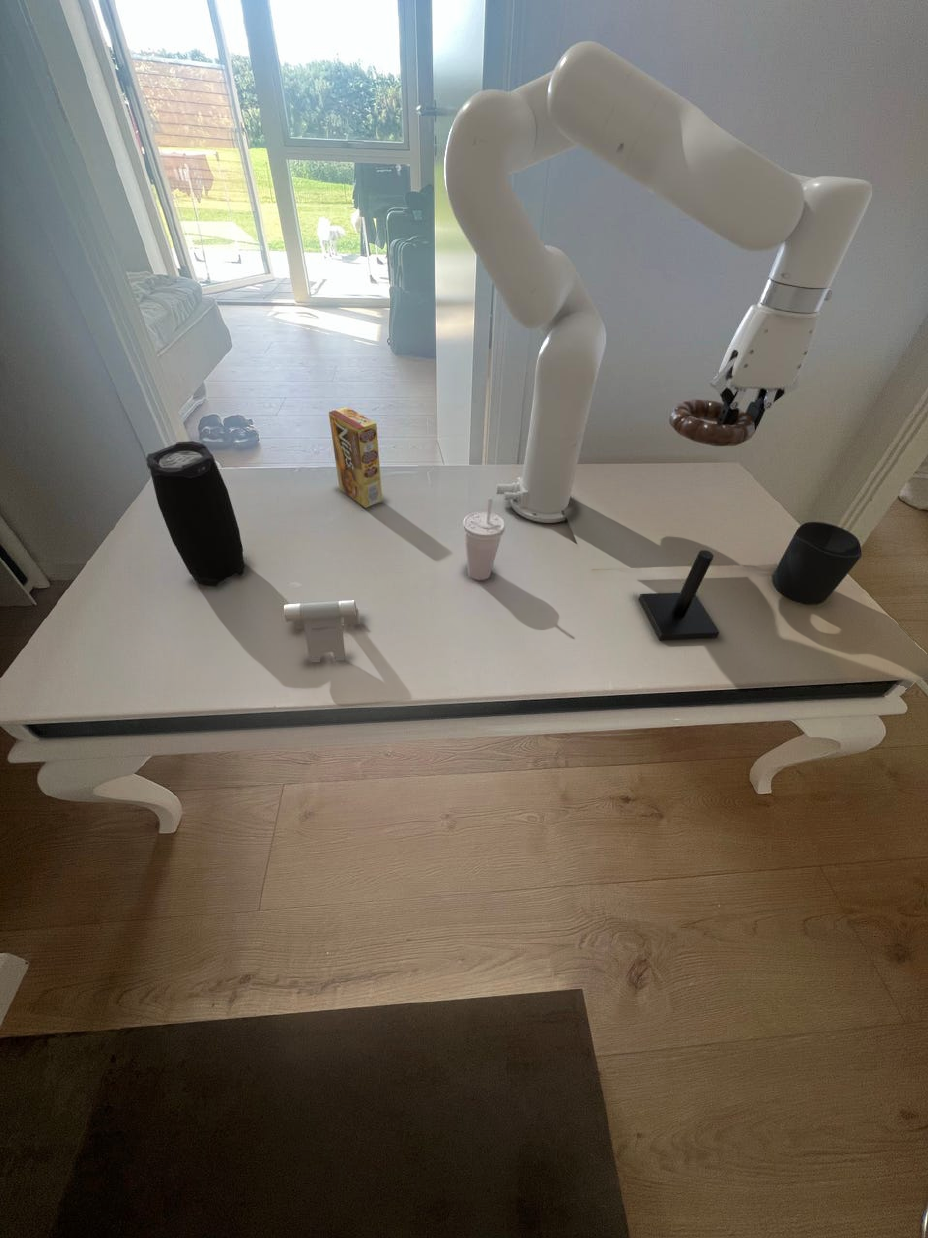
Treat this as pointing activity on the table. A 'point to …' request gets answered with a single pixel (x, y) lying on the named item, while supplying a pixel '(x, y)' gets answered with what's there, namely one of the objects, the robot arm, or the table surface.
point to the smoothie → (482, 541)
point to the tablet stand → (323, 625)
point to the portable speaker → (197, 511)
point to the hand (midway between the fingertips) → (734, 429)
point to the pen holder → (816, 562)
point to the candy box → (356, 456)
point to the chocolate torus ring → (697, 430)
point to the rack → (681, 607)
